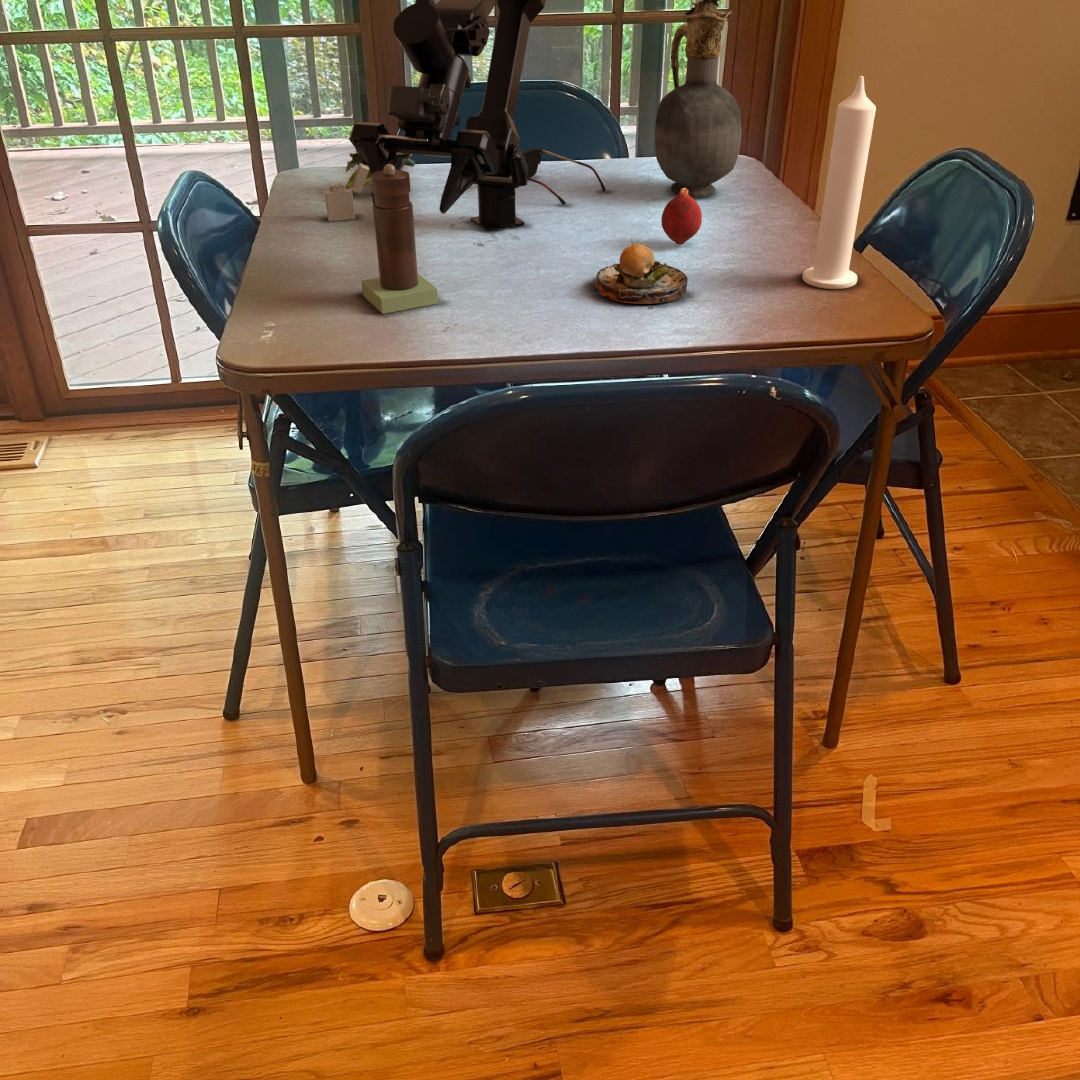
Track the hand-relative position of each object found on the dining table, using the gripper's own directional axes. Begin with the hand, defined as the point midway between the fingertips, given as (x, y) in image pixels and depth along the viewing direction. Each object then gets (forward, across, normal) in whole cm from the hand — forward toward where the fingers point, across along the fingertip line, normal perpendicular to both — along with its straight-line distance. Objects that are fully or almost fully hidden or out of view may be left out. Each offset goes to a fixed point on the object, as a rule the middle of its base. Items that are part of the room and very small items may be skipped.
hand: (408, 208), depth 126 cm
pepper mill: (+9, 0, +3) cm, 9 cm away
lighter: (-11, -23, +26) cm, 36 cm away
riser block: (+10, 0, +4) cm, 11 cm away
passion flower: (-22, -25, +37) cm, 49 cm away
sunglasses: (-28, +2, +43) cm, 52 cm away
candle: (-7, +51, +22) cm, 56 cm away
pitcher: (-34, +24, +49) cm, 64 cm away
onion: (-13, +29, +28) cm, 42 cm away
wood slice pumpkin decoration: (+1, +28, +14) cm, 31 cm away
